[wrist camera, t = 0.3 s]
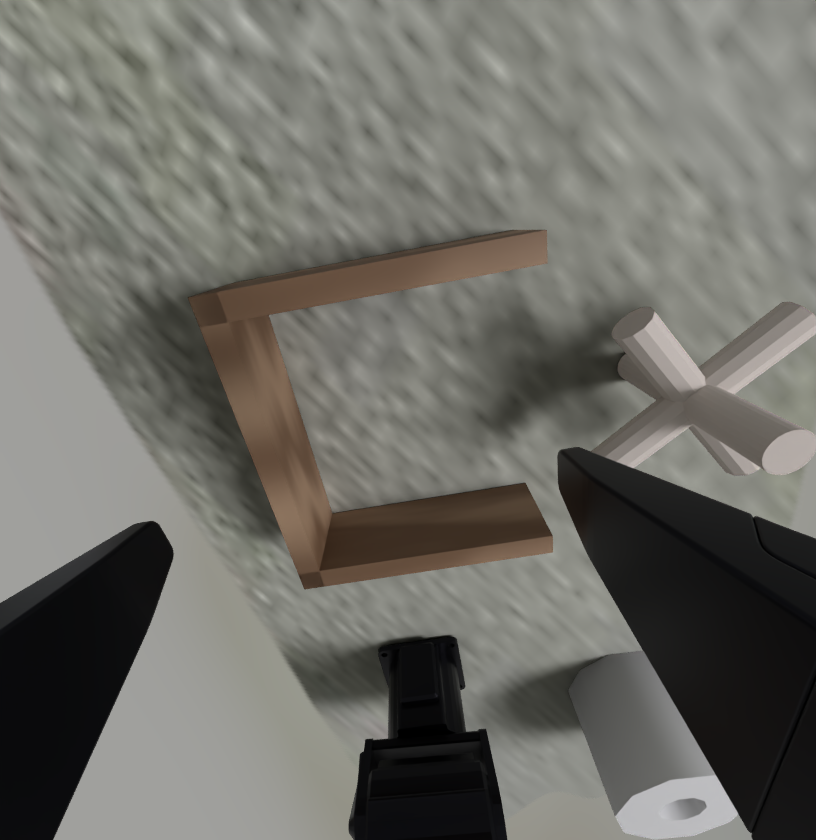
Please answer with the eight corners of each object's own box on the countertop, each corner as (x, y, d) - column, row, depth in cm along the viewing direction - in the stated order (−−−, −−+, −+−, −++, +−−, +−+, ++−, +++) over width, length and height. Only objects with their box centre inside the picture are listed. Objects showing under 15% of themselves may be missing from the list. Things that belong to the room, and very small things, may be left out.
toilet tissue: (655, 732, 40) (719, 855, 32) (548, 698, 37) (589, 824, 29) (725, 681, 36) (815, 804, 28) (613, 639, 33) (679, 763, 25)
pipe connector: (510, 369, 23) (586, 460, 14) (663, 228, 20) (890, 225, 11) (610, 469, 26) (725, 597, 17) (755, 360, 23) (990, 445, 14)
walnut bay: (526, 497, 27) (552, 552, 22) (319, 530, 27) (304, 589, 23) (511, 230, 20) (546, 229, 15) (233, 282, 20) (187, 297, 16)
